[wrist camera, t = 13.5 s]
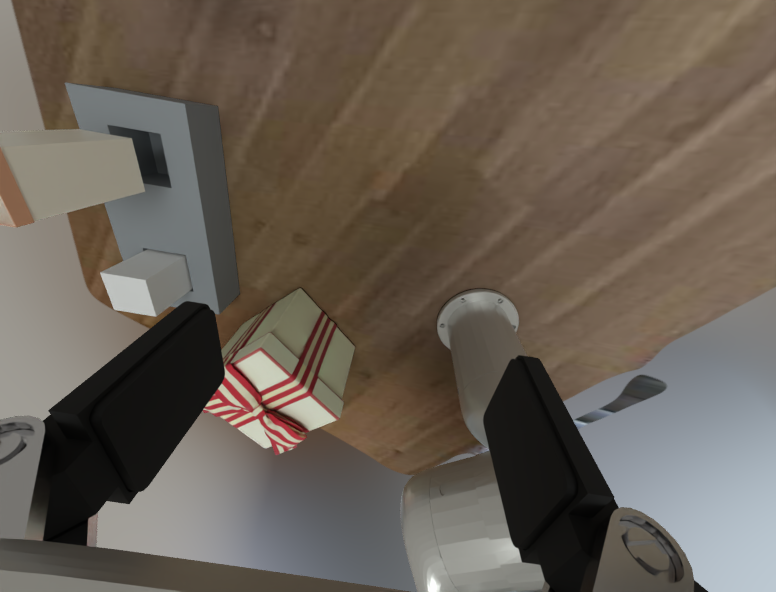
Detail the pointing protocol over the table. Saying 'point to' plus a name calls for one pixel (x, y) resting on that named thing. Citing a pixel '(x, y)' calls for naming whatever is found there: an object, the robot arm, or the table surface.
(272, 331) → the gift box
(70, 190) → the cream plug
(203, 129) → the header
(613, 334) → the table surface
